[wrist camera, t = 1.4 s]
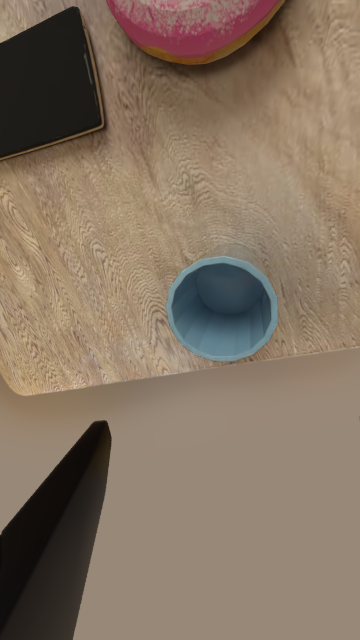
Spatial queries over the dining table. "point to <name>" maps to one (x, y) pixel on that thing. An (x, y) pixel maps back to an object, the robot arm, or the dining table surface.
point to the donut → (192, 26)
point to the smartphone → (48, 85)
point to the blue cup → (223, 304)
